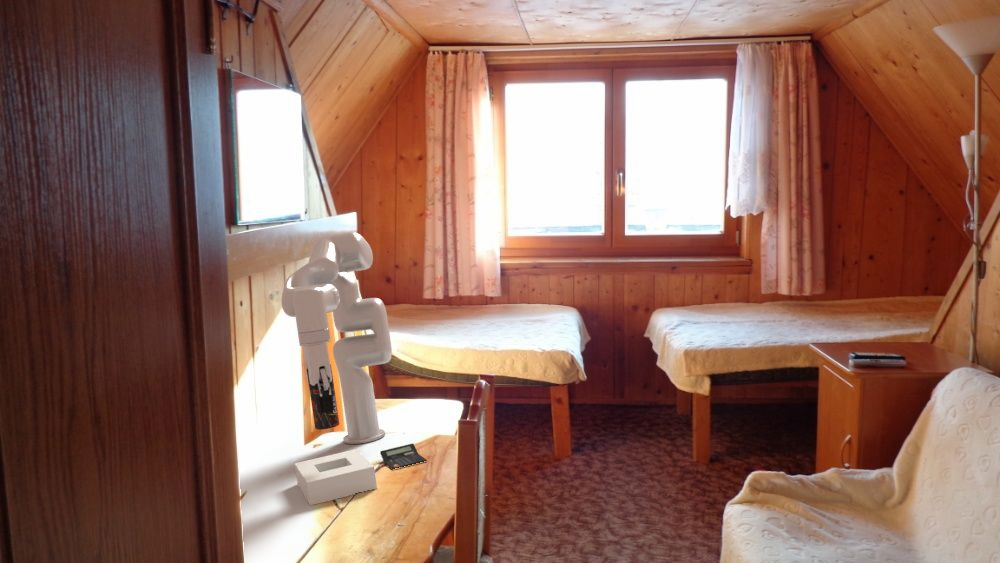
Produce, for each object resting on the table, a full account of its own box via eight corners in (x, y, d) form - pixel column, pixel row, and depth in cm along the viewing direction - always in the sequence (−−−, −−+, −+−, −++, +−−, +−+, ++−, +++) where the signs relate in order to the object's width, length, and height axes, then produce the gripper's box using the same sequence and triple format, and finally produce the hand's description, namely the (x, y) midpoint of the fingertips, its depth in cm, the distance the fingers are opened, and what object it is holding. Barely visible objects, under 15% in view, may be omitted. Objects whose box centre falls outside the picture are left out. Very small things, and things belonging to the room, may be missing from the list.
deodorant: (336, 427, 189) (327, 367, 188) (312, 430, 190) (303, 370, 189) (341, 421, 195) (333, 363, 194) (318, 424, 195) (309, 365, 195)
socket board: (297, 484, 200) (294, 463, 199) (358, 469, 206) (355, 449, 205) (310, 505, 181) (306, 482, 181) (377, 488, 187) (374, 466, 187)
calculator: (393, 471, 201) (391, 460, 201) (381, 461, 212) (379, 450, 212) (427, 462, 205) (425, 451, 205) (414, 453, 215) (412, 443, 215)
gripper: (293, 337, 198) (304, 407, 199) (304, 343, 182) (315, 418, 183) (323, 332, 200) (333, 401, 202) (336, 337, 185) (347, 412, 186)
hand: (324, 408), depth 192 cm, fingers closed on deodorant, 5 cm apart
